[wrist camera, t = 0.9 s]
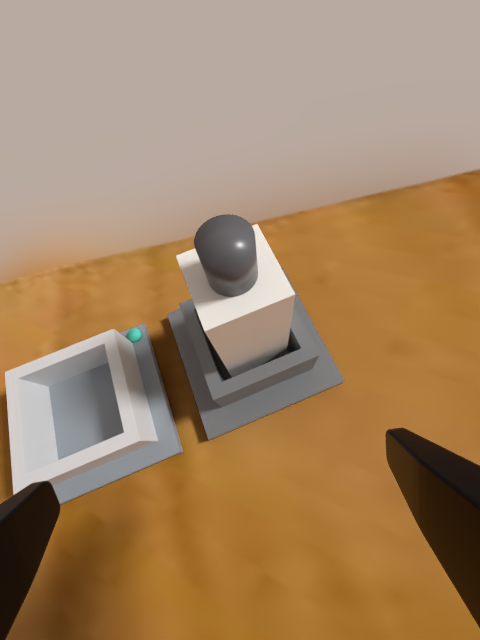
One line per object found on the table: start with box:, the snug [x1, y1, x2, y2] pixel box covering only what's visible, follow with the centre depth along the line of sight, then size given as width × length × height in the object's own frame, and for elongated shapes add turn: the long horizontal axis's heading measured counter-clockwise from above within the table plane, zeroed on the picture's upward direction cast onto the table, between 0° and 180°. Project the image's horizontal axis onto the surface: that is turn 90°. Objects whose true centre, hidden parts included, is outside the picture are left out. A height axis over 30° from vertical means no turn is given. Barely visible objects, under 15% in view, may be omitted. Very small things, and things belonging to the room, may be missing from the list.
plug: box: [176, 215, 295, 377], centre depth 16 cm, size 4×4×12 cm
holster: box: [167, 268, 344, 440], centre depth 21 cm, size 10×10×4 cm
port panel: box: [5, 324, 183, 505], centre depth 20 cm, size 10×10×4 cm
